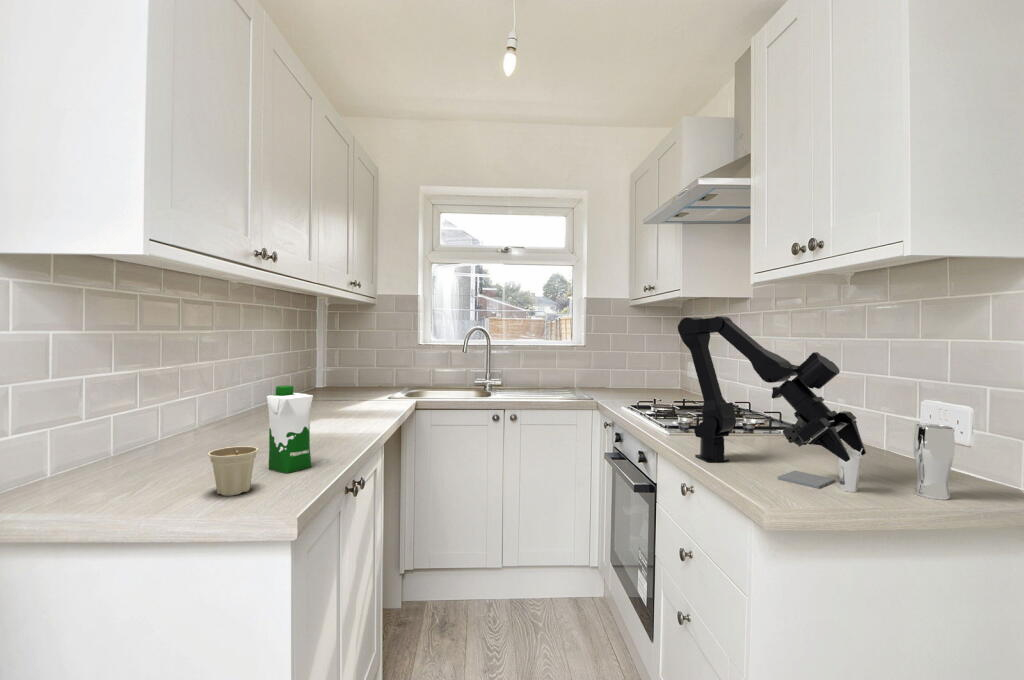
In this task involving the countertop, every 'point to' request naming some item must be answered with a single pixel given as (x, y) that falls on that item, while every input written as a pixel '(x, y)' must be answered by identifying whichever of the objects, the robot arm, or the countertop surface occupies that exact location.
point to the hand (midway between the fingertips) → (856, 457)
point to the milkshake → (850, 471)
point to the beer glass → (933, 459)
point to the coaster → (806, 479)
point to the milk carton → (289, 430)
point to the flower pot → (233, 469)
